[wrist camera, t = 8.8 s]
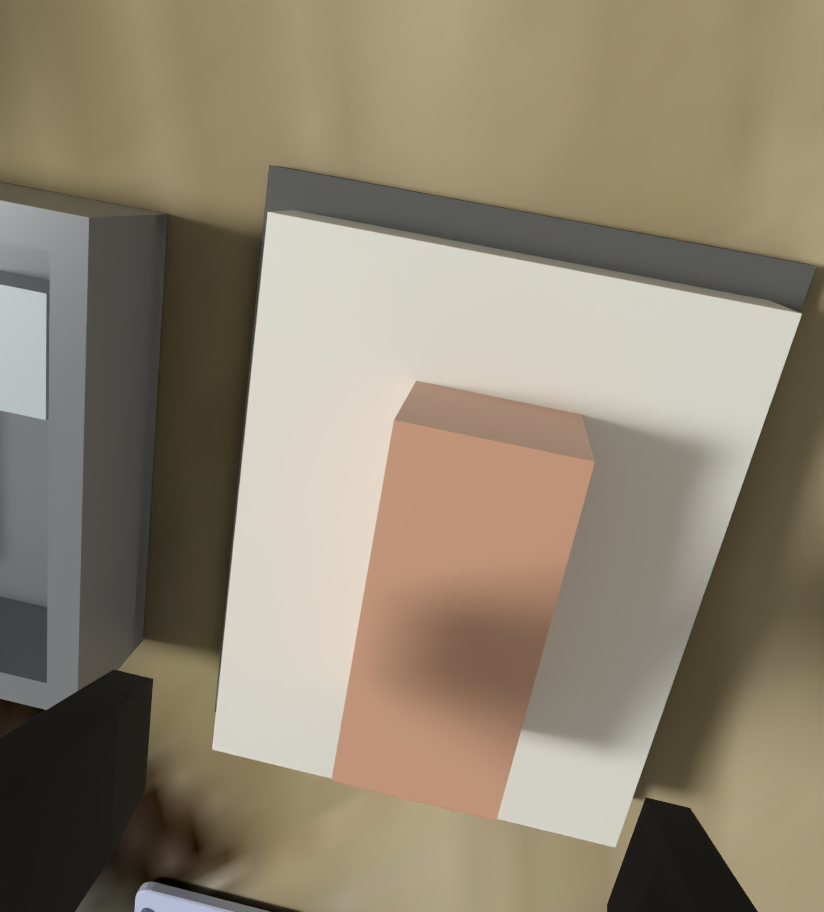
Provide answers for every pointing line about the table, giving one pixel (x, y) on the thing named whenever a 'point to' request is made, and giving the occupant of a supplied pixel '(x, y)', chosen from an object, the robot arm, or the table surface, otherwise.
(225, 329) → the table surface
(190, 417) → the table surface
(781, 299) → the mat
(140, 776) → the robot arm
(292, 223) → the lid
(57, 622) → the storage box
